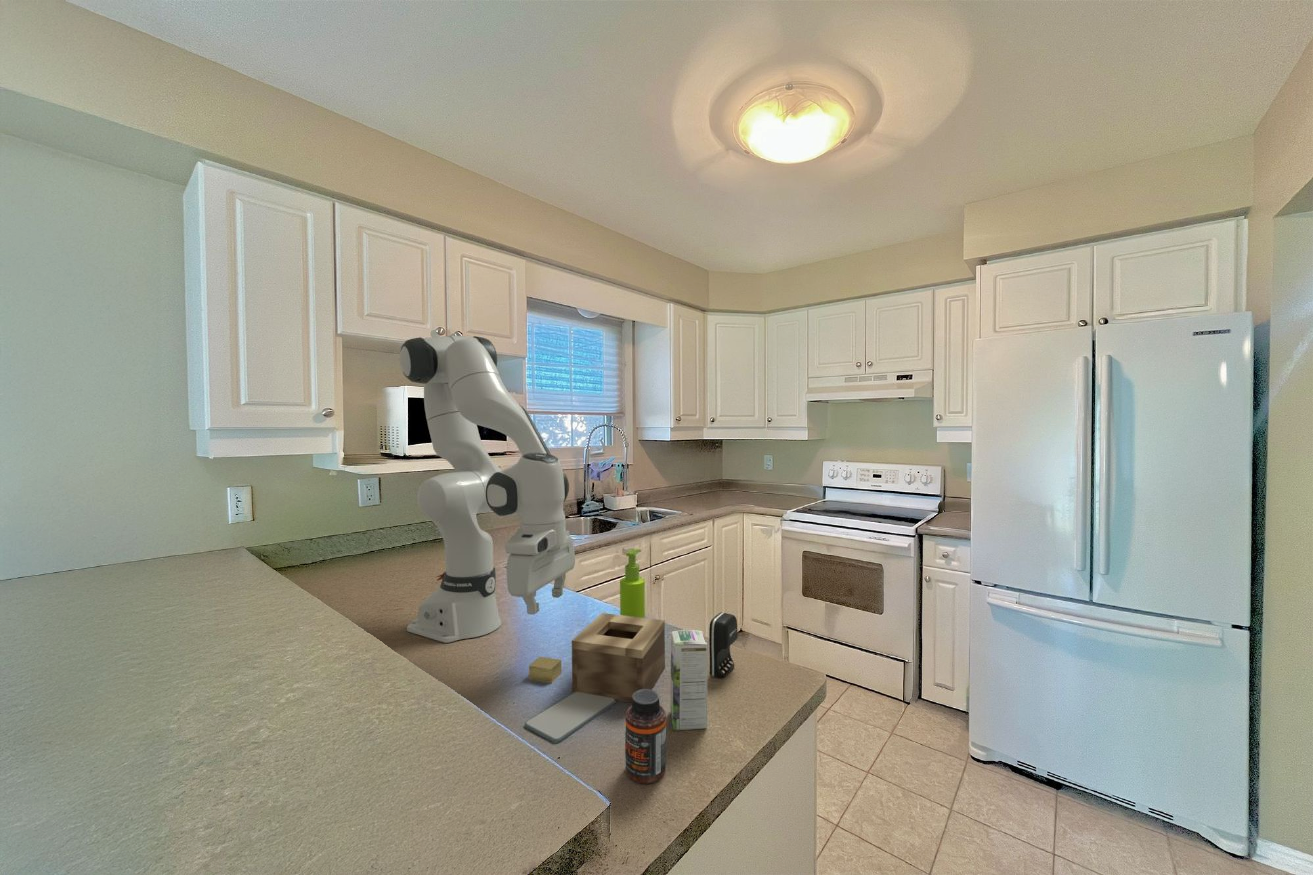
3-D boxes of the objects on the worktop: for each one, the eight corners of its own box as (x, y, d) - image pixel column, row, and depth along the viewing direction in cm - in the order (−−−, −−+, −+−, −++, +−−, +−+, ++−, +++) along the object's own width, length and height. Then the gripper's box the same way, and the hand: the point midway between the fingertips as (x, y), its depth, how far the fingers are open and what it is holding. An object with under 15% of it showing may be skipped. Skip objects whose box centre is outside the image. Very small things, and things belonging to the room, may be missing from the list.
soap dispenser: (650, 629, 123) (649, 548, 123) (639, 641, 117) (639, 555, 116) (627, 626, 125) (627, 546, 124) (616, 637, 119) (615, 553, 118)
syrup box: (669, 711, 89) (669, 630, 88) (702, 709, 89) (702, 628, 89) (673, 731, 83) (673, 644, 82) (709, 729, 83) (708, 643, 83)
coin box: (572, 692, 95) (571, 640, 94) (602, 658, 108) (601, 612, 108) (642, 704, 91) (642, 650, 90) (664, 668, 104) (664, 620, 104)
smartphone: (618, 699, 92) (556, 740, 80) (618, 704, 92) (556, 747, 80) (584, 685, 97) (522, 722, 85) (584, 690, 97) (522, 728, 85)
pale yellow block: (529, 680, 100) (528, 665, 100) (539, 670, 104) (539, 656, 104) (551, 684, 98) (551, 669, 98) (561, 674, 102) (561, 659, 102)
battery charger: (726, 682, 98) (726, 624, 98) (708, 677, 100) (708, 620, 100) (739, 666, 104) (739, 612, 104) (722, 662, 106) (722, 609, 106)
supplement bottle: (617, 778, 72) (617, 701, 72) (636, 753, 78) (635, 681, 77) (656, 791, 70) (655, 710, 69) (672, 764, 75) (671, 689, 75)
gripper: (555, 524, 111) (557, 586, 111) (499, 546, 91) (502, 622, 92) (581, 525, 109) (583, 588, 109) (529, 548, 89) (532, 625, 90)
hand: (545, 604), depth 100 cm, fingers open, 8 cm apart
